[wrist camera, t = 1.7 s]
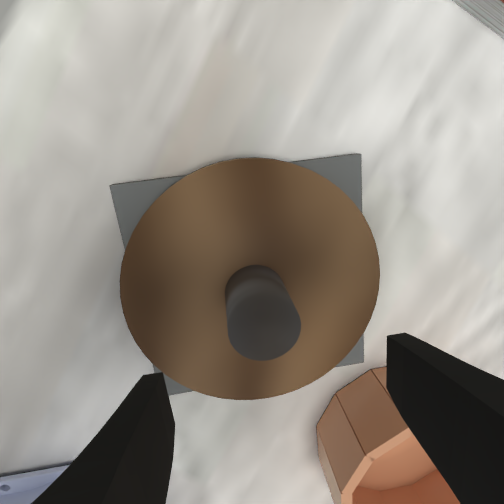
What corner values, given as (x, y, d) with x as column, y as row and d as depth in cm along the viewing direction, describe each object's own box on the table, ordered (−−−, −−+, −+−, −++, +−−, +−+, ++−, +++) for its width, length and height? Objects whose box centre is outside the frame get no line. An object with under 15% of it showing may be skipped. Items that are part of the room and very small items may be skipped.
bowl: (321, 496, 24) (344, 572, 20) (313, 379, 21) (338, 439, 17) (456, 470, 25) (506, 538, 21) (468, 353, 22) (529, 404, 17)
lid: (153, 404, 20) (137, 476, 16) (95, 176, 16) (52, 188, 11) (371, 367, 21) (412, 426, 16) (370, 141, 17) (425, 142, 12)
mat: (161, 390, 20) (160, 396, 20) (112, 184, 16) (109, 185, 16) (360, 357, 21) (363, 362, 20) (357, 153, 17) (361, 154, 17)
